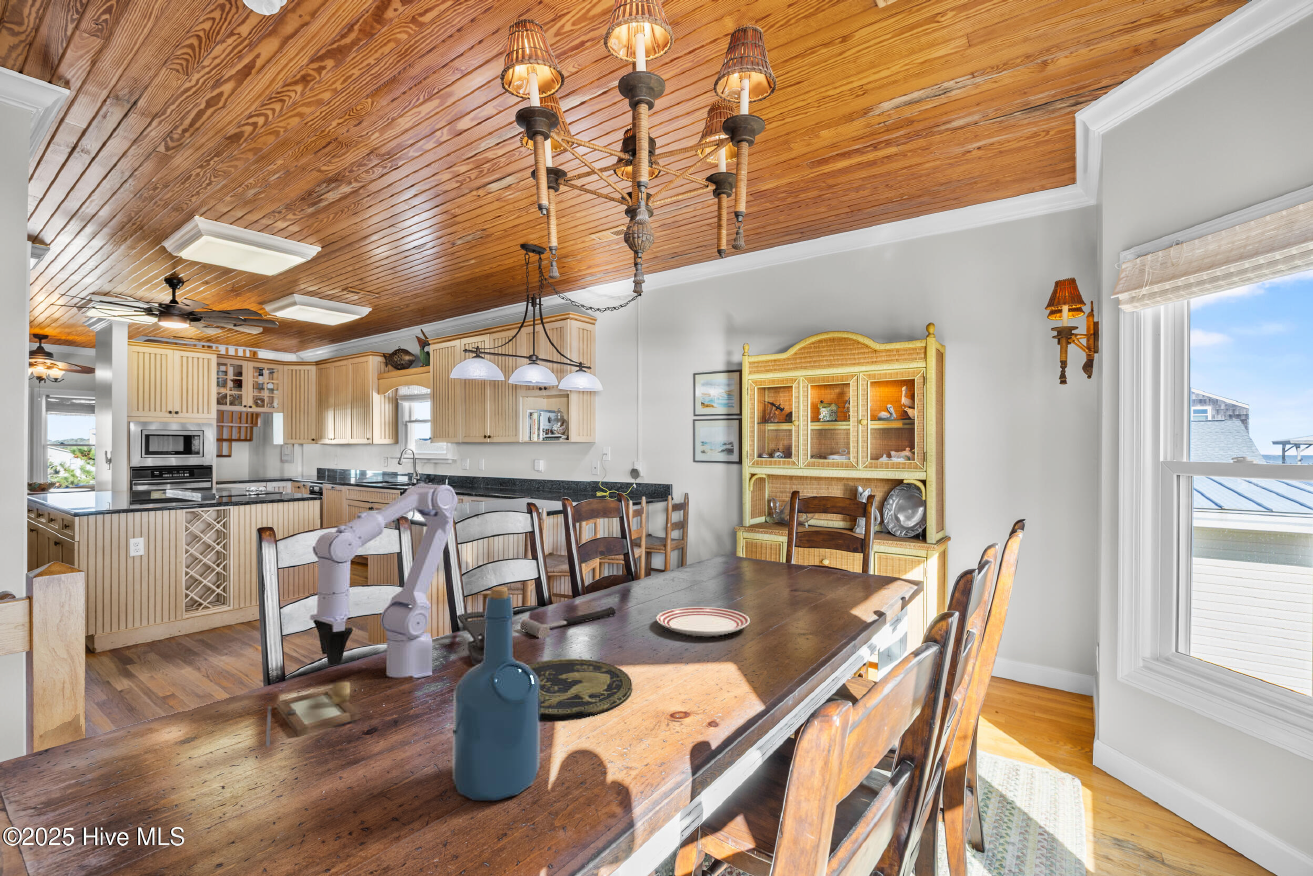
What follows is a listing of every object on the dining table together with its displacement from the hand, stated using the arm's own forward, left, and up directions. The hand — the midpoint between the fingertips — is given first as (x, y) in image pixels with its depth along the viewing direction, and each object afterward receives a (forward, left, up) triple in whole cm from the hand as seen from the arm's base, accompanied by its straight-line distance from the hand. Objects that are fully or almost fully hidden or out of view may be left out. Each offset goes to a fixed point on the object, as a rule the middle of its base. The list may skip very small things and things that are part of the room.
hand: (331, 658), depth 119 cm
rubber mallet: (-65, -24, -10) cm, 70 cm away
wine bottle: (-20, +45, -9) cm, 50 cm away
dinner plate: (-96, -2, -9) cm, 97 cm away
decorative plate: (-43, +18, -9) cm, 48 cm away
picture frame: (+2, +6, -8) cm, 10 cm away
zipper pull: (-35, -16, -9) cm, 40 cm away
